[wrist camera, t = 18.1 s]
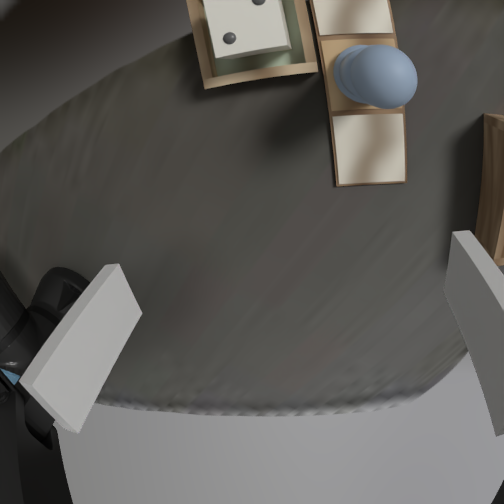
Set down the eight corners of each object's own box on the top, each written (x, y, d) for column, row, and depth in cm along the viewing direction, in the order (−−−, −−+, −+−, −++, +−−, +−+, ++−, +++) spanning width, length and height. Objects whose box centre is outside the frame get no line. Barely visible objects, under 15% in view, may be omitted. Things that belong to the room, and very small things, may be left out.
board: (336, 185, 34) (336, 187, 34) (302, -30, 22) (302, -31, 22) (406, 181, 32) (407, 183, 32) (380, -32, 20) (381, -34, 20)
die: (232, 59, 28) (215, 58, 23) (221, 7, 25) (202, -4, 20) (291, 49, 27) (287, 44, 22) (280, -5, 24) (273, -19, 19)
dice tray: (212, 87, 31) (204, 89, 29) (193, -4, 25) (184, -9, 23) (317, 71, 28) (318, 71, 26) (298, -25, 23) (297, -32, 20)
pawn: (337, 104, 29) (351, 124, 19) (328, 46, 26) (339, 34, 16) (395, 101, 28) (437, 122, 17) (388, 45, 25) (429, 35, 14)
